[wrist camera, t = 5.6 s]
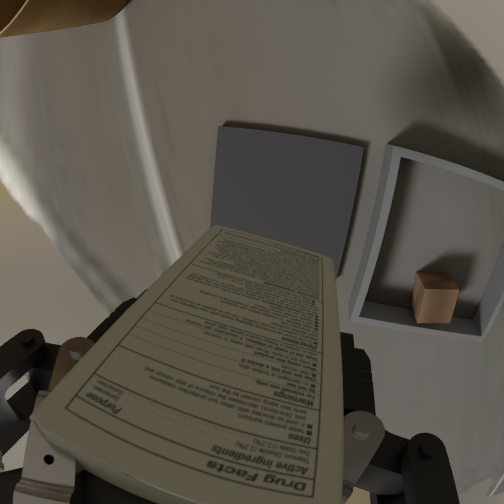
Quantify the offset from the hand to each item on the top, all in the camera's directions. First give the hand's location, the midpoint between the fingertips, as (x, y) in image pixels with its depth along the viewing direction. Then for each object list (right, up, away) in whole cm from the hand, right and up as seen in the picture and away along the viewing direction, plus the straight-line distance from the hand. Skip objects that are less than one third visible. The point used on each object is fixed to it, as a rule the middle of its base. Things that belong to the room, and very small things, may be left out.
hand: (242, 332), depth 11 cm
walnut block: (+20, -1, +18) cm, 27 cm away
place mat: (+3, +8, +19) cm, 21 cm away
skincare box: (+1, +2, +4) cm, 5 cm away
